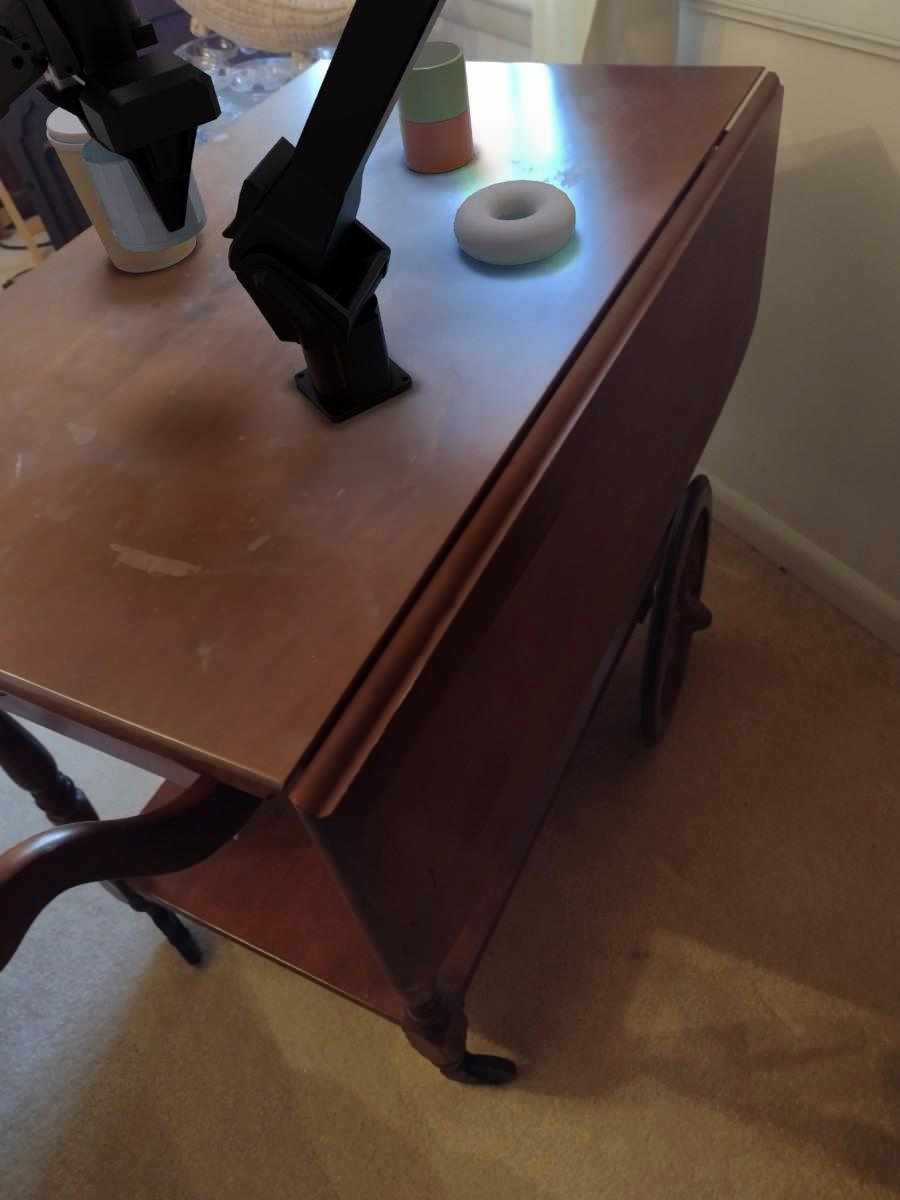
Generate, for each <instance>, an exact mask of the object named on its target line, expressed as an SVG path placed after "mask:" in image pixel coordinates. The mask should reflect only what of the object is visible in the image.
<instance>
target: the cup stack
mask: <svg viewBox="0 0 900 1200" xmlns="http://www.w3.org/2000/svg"><path fill="white" fill-rule="evenodd" d="M467 73H468V72H467V63H466V53H465V48H464V46H463V45H462V44H460V43H458V42H455V41H451V40H441V39H440V40H439V39H437V40H436V39H435V40H427V41H426V43H425V45H424V47H423V49H422V51H421V53H420V55H419V57H418V59H417V61H416V63H415V66H414V68H413V70H412V72H411V74H410V76H409V78H408V80H407V82H406V84H405V86H404V88H403V90H402V92H401V94H400V96H399V98H398V100H397V102H396V109H397V115H398V121H399V122H398V123H399V128H400V134H401V135H400V136H401V142H402V149H403V155H404V160H405V165H406V166H407V168H409V169H410V170H412V171H413V172H417V173H420V174H440V173H441V174H442V173H447V172H451V171H455V170H457V169H460V168H462V167H463V166H465V165H467V164H468V163H470V162H471V161H472V159H473V158H474V156H475V150H474V149H475V147H474V138H473V128H472V127H473V126H472V116H471V107H470V105H471V104H470V97H469V95H470V94H469V86H468V76H467Z"/></svg>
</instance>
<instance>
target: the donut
mask: <svg viewBox="0 0 900 1200" xmlns="http://www.w3.org/2000/svg"><path fill="white" fill-rule="evenodd" d="M576 218H577V213H576V207H575V205H574V203H573V201H572V200H571V199H570V197H569V196H568V194H567V193H566V192H564V191H563V190H562V189H560V188H559V187H557V186H555V185H554V184H552V183H547V182H544V181H541V180H540V181H539V180H532V179H531V180H530V179H529V180H528V179H515V180H506V181H502V182H497V183H493V184H491V185H488V186H485V187H483V188H479V189H477V190H476V191H475V192H473V193H471V194H470V195H468V196H467V197H466V198H465V199H464V200H463V202H462V203H461V205H460V206H459V207H458V208H457V209H456V213H455V216H454V221H453V233H454V237H455V239H456V241H457V243H458V245H459V247H460V248H461V250H462V251H464V253H466V254H468V255H469V256H470V257H472V258H473V259H475V260H478V261H480V262H484V263H486V264H489V265H498V266H516V265H524V264H528V263H533V262H538V261H540V260H543V259H545V258H547V257H549V256H552V255H554V253H556V252H557V251H558V250H560V249H561V248H563V247H564V246H565V245H566V244H567V243H568V241H569V239H570V238H571V236H572V234H574V232H575V229H576V221H577V219H576Z"/></svg>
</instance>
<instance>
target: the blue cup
mask: <svg viewBox="0 0 900 1200" xmlns="http://www.w3.org/2000/svg"><path fill="white" fill-rule="evenodd" d="M80 157H81V159H82V161H83V164H84V166H85V169H86V171H87V173H88V176H89V178H90V180H91V183H92V185H93V188H94V190H95V192H96V195H97V197H98V200H99V202H100V204H101V207H102V209H103V212H104V214H105V216H106V219H107V221H108V224H109V226H110V228H111V231H112V233H113V235H114V236H115V238H116V241H117V243H118V244H119V245H120V246H121V247H123V248H125V249H127V250H131V251H137V252H149V251H157V250H162V249H166V248H170V247H173V246H176V245H179V244H181V243H183V242H185V241H187V240H189V239H191V238H192V237H194V236H197V235H198V234H199V233H200V232H201V231H202V230H203V229H204V228H205V227H206V225H207V222H208V215H207V212H206V207H205V203H204V200H203V198H202V195H201V191H200V188H199V186H198V182H197V179H196V176H195V173H194V170H193V167H192V166H191V174H190V183H189V192H188V201H187V211H186V220H185V226H184V227H183V228H182V229H179V230H177V231H174V232H169V231H168V230H166V228H165V226H164V225H163V223H162V221H161V220H160V218H159V216H158V215H157V213H156V211H155V209H154V208H153V206H152V204H151V202H150V200H149V199H148V197H147V195H146V193H145V192H144V190H143V188H142V186H141V184H140V183H139V181H138V179H137V177H136V176H135V174H134V172H133V170H132V168H131V167H130V165H129V163H128V161H127V159H126V158H125V157H123V156H121V155H118V154H116V153H112V152H110V151H108V150H106V149H105V148H103V147H102V146H101V145H100V144H99V143H97V142H96V141H95V140H94V139H93V138H91V139H90V140H89V141H88V142H87V143H86V144H85V145H84V146H83V147H82V148H81V155H80Z"/></svg>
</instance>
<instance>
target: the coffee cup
mask: <svg viewBox="0 0 900 1200" xmlns="http://www.w3.org/2000/svg"><path fill="white" fill-rule="evenodd" d="M46 137H47V139H48V141H49V143H50V145H51V146H52V147H53V148H54V149H55V152H56V154H57V156H58V158H59V161H60V162H61V163H60V164H62V167H63V169H64V171H65V173H66V175H67V176H68V179H69V180H70V183H71V184H72V187H73V189H74V190H75V193H76V195H77V197H78V199H79V200H80V203H81V204H82V207H83V208H84V210H85V212H86V215H87V216H88V219H89V220H90V222H91V224H92V226H93V229H94V230H95V231H96V233H97V235H98V237H99V239H100V241H101V243H102V246H103V248H104V250H105V251H106V253H107V255H108V256H109V259H110V260H111V262H112V264H113V265H114V266H115V267H116V268H117V269H119V270H120V271H123V272H126V273H133V274H136V273H138V274H139V273H140V274H141V273H149V272H155V271H159V270H163V269H166V268H169V267H171V266H173V265H175V264H177V263H180V262H181V261H182V260H184V259H186V258H187V257H188V256H189V255H190V254H191V253H192V252H193V251H194V249H195V247H196V245H197V235H195V236H194V237H192V238H191V239H189V240H187V241H185V242H183V243H181V244H179V245H176V246H173V247H170V248H166V249H162V250H157V251H149V252H137V251H131V250H127V249H125V248H123V247H121V246H120V245H119V244H118V243H117V241H116V238H115V236H114V235H113V233H112V231H111V228H110V226H109V224H108V221H107V219H106V216H105V214H104V212H103V209H102V207H101V204H100V202H99V200H98V197H97V195H96V192H95V190H94V188H93V185H92V183H91V180H90V178H89V176H88V173H87V171H86V169H85V166H84V164H83V161H82V159H81V157H80V155H81V148H82V147H83V146H84V145H85V144H86V143H87V142H88V141H89V140H90V139H91V137H90V136H89V134H88V132H87V131H86V129H85V128H84V126H83V125H82V124H81V122H80V121H79V119H78V118H77V116H75V115H73V114H71V113H70V112H68V111H66V110H64V109H62V108H60V107H58V106H57V108H56V109H54V110H53V111H52V112H51V113H50V114H49V116H48V117H47V119H46Z"/></svg>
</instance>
